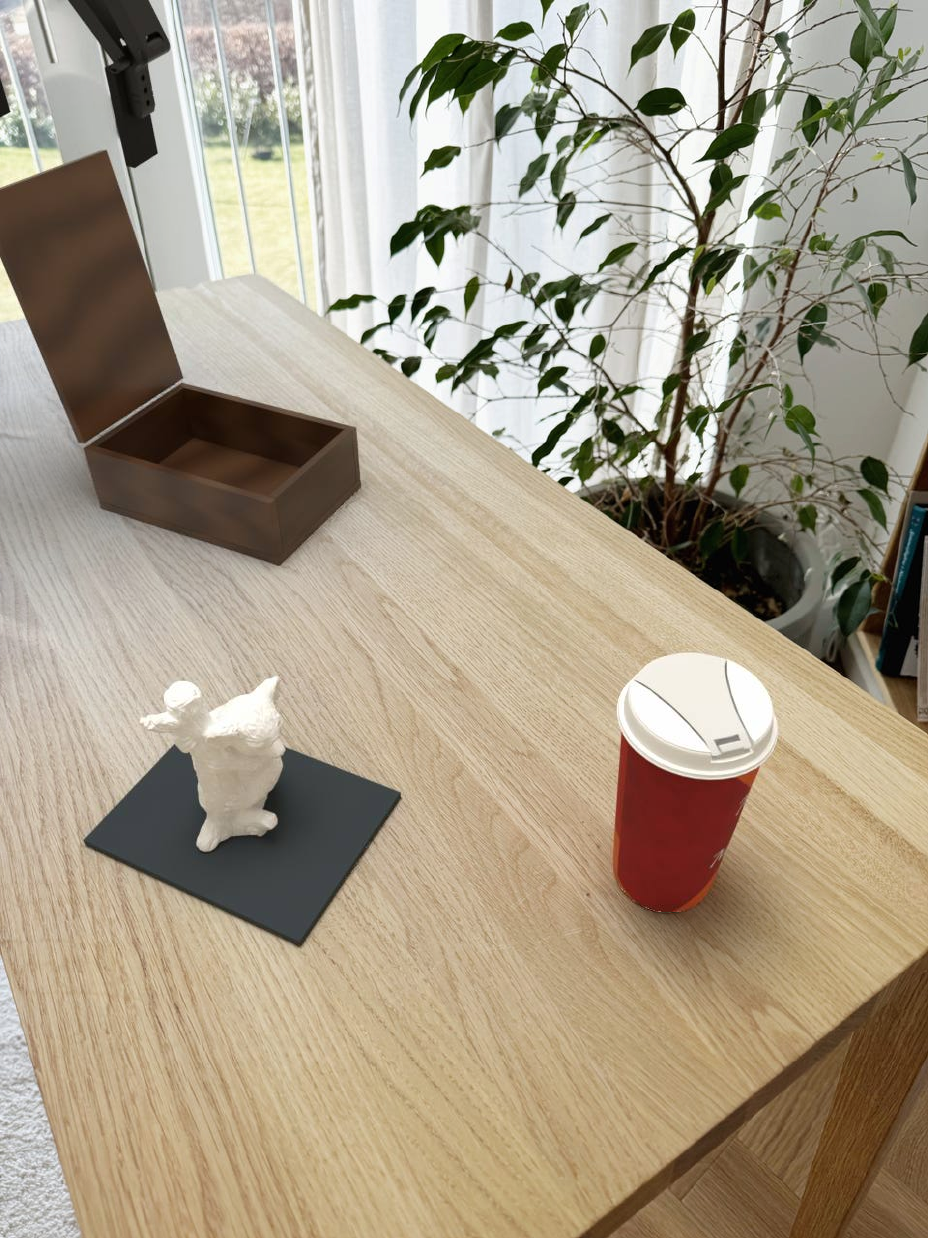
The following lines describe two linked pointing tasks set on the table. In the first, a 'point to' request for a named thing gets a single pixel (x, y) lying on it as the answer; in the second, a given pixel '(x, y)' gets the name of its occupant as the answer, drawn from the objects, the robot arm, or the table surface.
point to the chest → (226, 470)
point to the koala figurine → (227, 755)
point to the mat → (251, 840)
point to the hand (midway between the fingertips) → (66, 138)
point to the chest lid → (86, 292)
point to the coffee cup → (685, 773)
